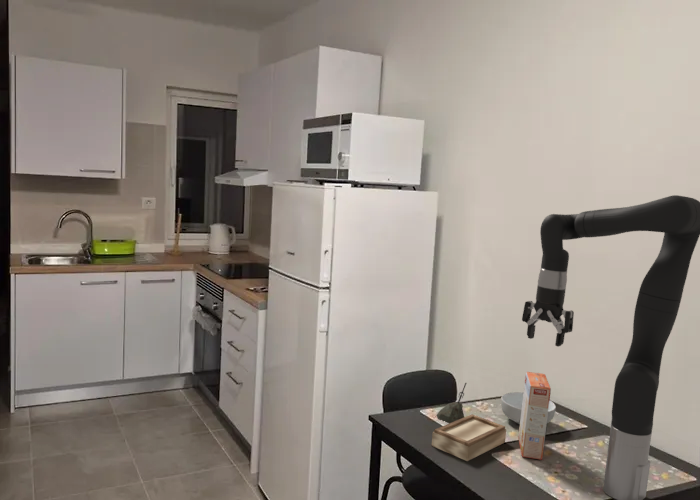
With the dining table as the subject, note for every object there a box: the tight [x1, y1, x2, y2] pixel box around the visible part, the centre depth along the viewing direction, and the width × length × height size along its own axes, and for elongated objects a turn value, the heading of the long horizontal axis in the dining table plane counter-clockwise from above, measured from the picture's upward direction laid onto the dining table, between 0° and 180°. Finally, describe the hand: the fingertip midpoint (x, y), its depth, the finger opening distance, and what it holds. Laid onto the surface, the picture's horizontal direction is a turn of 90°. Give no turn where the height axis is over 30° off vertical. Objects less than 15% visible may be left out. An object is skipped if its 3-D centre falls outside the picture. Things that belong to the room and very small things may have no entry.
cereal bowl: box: [500, 391, 557, 426], centre depth 197 cm, size 17×17×7 cm
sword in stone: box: [436, 382, 467, 424], centre depth 195 cm, size 10×8×12 cm
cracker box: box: [517, 371, 552, 461], centre depth 175 cm, size 14×6×21 cm, turn 168°
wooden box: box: [431, 413, 507, 462], centre depth 177 cm, size 12×20×5 cm, turn 136°
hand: (544, 341), depth 173 cm, fingers open, 8 cm apart
